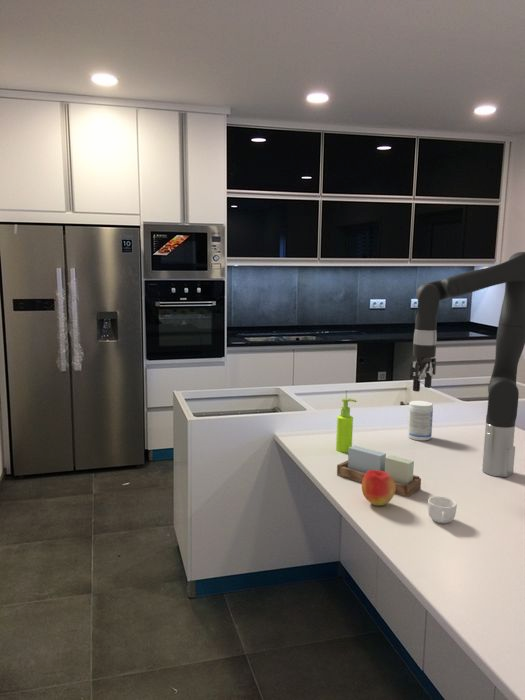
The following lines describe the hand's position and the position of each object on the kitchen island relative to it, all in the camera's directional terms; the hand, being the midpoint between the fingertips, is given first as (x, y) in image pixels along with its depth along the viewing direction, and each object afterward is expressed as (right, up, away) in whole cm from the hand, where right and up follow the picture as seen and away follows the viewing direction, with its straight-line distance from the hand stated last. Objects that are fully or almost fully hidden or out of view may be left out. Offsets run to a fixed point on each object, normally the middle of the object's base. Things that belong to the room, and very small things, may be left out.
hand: (422, 389), depth 196 cm
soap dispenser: (-23, -25, +22) cm, 41 cm away
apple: (-21, -32, -27) cm, 47 cm away
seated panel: (-12, -30, -15) cm, 36 cm away
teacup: (-5, -34, -38) cm, 52 cm away
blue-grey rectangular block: (-21, -29, -7) cm, 36 cm away
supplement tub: (+10, -23, +39) cm, 46 cm away
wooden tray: (-17, -30, -10) cm, 36 cm away
